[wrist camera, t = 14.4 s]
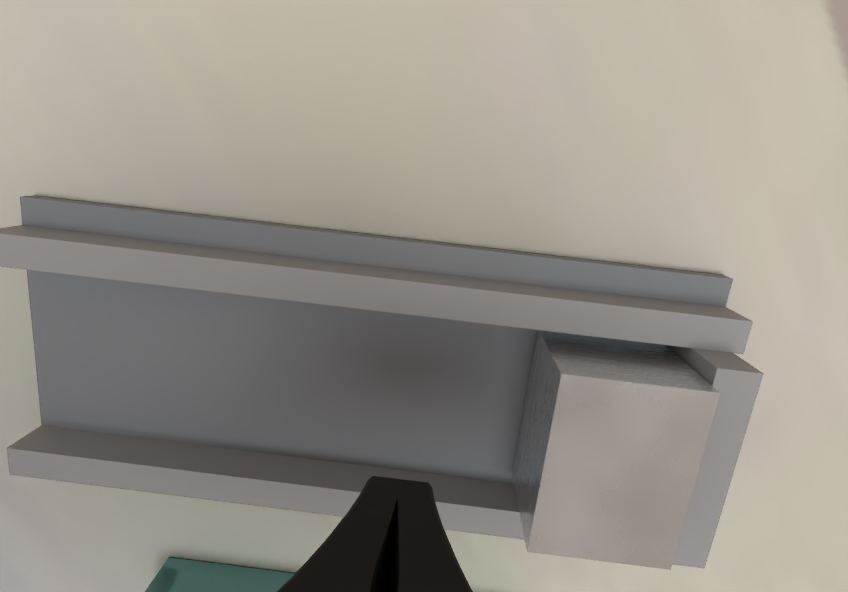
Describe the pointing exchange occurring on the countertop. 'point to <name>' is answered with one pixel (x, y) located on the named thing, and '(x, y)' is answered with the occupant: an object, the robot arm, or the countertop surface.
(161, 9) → the countertop surface
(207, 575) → the tray
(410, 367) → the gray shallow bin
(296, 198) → the countertop surface
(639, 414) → the light grey block
